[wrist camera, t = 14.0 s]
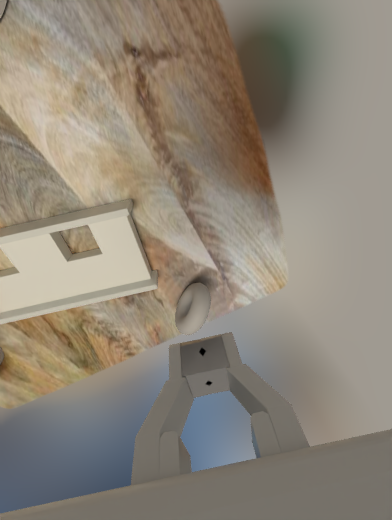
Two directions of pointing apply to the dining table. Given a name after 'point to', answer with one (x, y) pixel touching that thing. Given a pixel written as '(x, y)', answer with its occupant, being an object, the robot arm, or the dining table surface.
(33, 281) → the tray
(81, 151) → the dining table surface
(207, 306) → the donut
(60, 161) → the dining table surface
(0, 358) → the lumpy-topped squat cylinder
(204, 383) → the robot arm
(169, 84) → the dining table surface
